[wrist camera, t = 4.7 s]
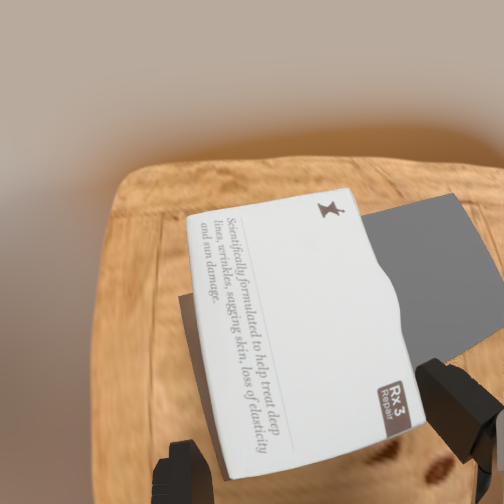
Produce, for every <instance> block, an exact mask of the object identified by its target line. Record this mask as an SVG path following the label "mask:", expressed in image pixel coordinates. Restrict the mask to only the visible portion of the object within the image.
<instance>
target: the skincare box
mask: <svg viewBox="0 0 504 504" xmlns="http://www.w3.org/2000/svg"><path fill="white" fill-rule="evenodd" d="M186 226H187V239H188V251H189V261H190V270H191V280H192V289H193V297H194V305H195V312H196V319H197V326H198V332H199V339H200V345H201V351H202V357H203V362H204V367H205V373H206V378H207V383H208V388H209V394H210V399H211V404H212V410H213V415H214V420H215V425H216V429H217V433H218V437H219V442H220V446H221V450H222V454H223V458H224V461H225V465H226V468H227V472H228V475H229V477H230V478H231V479H233V480H235V479H241V478H246V477H254V476H260V475H265V474H270V473H275V472H280V471H284V470H289V469H293V468H297V467H301V466H305V465H309V464H313V463H317V462H320V461H324V460H328V459H331V458H335V457H338V456H341V455H344V454H348V453H351V452H354V451H357V450H360V449H363V448H366V447H369V446H372V445H374V444H377V443H380V442H383V441H385V440H388V439H390V438H393V437H396V436H398V435H401V434H403V433H405V432H408V431H410V430H412V429H415V428H417V427H419V426H422V425H424V423H425V422H426V417H425V413H424V409H423V405H422V401H421V397H420V393H419V389H418V386H417V382H416V379H415V375H414V372H413V368H412V365H411V361H410V358H409V354H408V351H407V347H406V344H405V341H404V337H403V334H402V331H401V318H400V307H399V302H398V298H397V295H396V292H395V290H394V287H393V285H392V283H391V281H390V279H389V278H388V276H387V275H386V274H385V272H384V271H383V270H382V268H381V267H380V266H379V264H378V261H377V259H376V256H375V254H374V251H373V248H372V246H371V243H370V241H369V238H368V236H367V233H366V230H365V227H364V224H363V222H362V219H361V216H360V213H359V209H358V206H357V204H356V201H355V198H354V195H353V193H352V192H351V190H350V189H349V188H341V189H336V190H331V191H326V192H317V193H312V194H306V195H300V196H294V197H289V198H283V199H278V200H273V201H268V202H263V203H257V204H251V205H245V206H239V207H233V208H226V209H220V210H214V211H209V212H204V213H199V214H194V215H190V216H188V217H187V219H186Z"/></svg>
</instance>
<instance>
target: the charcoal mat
mask: <svg viewBox="0 0 504 504" xmlns="http://www.w3.org/2000/svg"><path fill="white" fill-rule="evenodd" d="M361 219H362V222H363V224H364V227H365V230H366V233H367V236H368V238H369V241H370V243H371V246H372V248H373V251H374V254H375V256H376V259H377V261H378V264H379V266H380V267H381V268H382V270H383V271H384V272H385V274H386V275H387V276H388V278H389V279H390V281H391V283H392V285H393V287H394V290H395V292H396V295H397V298H398V302H399V307H400V318H401V331H402V334H403V337H404V341H405V344H406V347H407V351H408V354H409V358H410V361H411V365H412V368H413V372H414V375H415V370H416V367H417V366H419V365H421V364H423V363H425V362H427V361H429V360H431V359H432V358H437V359H439V360H440V361H441V362H442V363H445V362H447V361H449V360H450V359H452V358H454V357H456V356H457V355H459V354H461V353H463V352H464V351H466V350H468V349H469V348H471V347H473V346H474V345H476V344H477V343H479V342H481V341H482V340H484V339H485V338H487V337H488V336H490V335H491V334H493V333H494V332H496V331H497V330H499V329H500V328H502V327H503V326H504V282H503V280H502V278H501V276H500V274H499V271H498V269H497V267H496V265H495V263H494V261H493V259H492V257H491V256H490V254H489V252H488V250H487V248H486V246H485V244H484V242H483V241H482V239H481V237H480V235H479V233H478V232H477V230H476V228H475V226H474V225H473V223H472V221H471V220H470V218H469V216H468V215H467V213H466V211H465V210H464V208H463V207H462V205H461V203H460V202H459V200H458V199H457V197H456V196H455V194H454V193H451V194H447V195H443V196H439V197H435V198H431V199H427V200H423V201H419V202H415V203H411V204H407V205H403V206H399V207H395V208H391V209H387V210H384V211H380V212H376V213H372V214H368V215H364V216H361Z"/></svg>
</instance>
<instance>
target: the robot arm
mask: <svg viewBox="0 0 504 504" xmlns="http://www.w3.org/2000/svg"><path fill="white" fill-rule="evenodd" d="M415 379H416V382H417V386H418V389H419V393H420V397H421V401H422V405H423V409H424V413H425V417H426V420H427V421H428V423H429V424H430V425H431V426H432V427H433V429H434V430H435V431H436V432H437V433H438V434H439V436H440V437H441V438H442V439H443V440H444V442H445V443H446V444H447V445H448V447H449V448H450V449H451V450H452V451H453V453H454V454H455V455H456V456H457V457H458V459H459V460H460V461H461V462H462V464H465V463H466V462H468V461H469V460H470V459H472V458H473V459H474V460H475V461H476V463H475V467H474V480H473V490H472V499H471V504H504V405H502V404H501V403H500V402H499V401H498V400H497V399H496V398H495V397H494V396H492V395H491V394H490V393H489V392H488V391H487V390H486V389H485V388H483V387H482V386H481V385H480V384H478V382H477V381H475V380H474V379H473V378H471V376H470V375H469V374H467V373H466V372H465V371H464V370H463V369H461V368H459V367H456V366H453V365H451V364H449V365H448V366H446V365H444V364H443V363H442V362H441V361H440V360H439V359H437V358H432V359H431V360H429V361H427V362H425V363H423V364H421V365H419V366H417V367H416V370H415ZM152 484H153V486H152V498H151V504H214V495H213V485H212V477H211V472H210V469H209V466H208V464H207V462H206V460H205V459H204V457H203V455H202V454H201V452H200V450H199V449H198V447H197V445H196V444H195V442H194V441H193V440H192V439H191V440H185V441H179V442H172V443H170V446H169V458H164V459H159V461H158V463H157V465H156V467H155V469H154V471H153V481H152Z"/></svg>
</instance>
